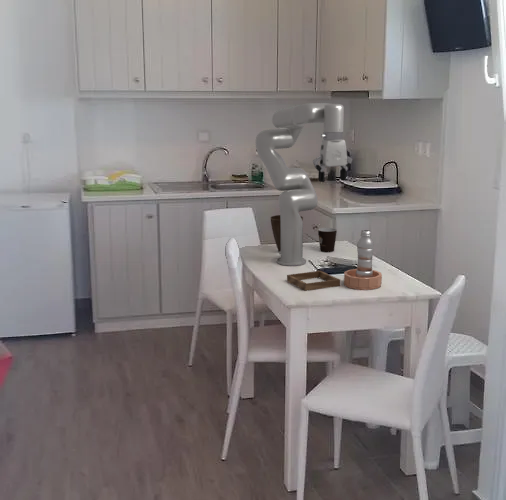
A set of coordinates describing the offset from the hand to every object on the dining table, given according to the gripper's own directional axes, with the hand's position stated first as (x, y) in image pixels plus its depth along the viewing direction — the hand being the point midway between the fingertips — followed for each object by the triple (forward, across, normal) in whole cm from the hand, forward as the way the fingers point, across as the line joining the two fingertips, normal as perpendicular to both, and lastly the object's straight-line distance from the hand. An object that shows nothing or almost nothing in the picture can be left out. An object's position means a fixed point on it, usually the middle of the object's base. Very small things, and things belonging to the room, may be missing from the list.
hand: (332, 180), depth 273 cm
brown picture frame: (+38, -12, -7) cm, 41 cm away
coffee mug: (+38, +22, +40) cm, 60 cm away
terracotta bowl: (+38, +4, -17) cm, 42 cm away
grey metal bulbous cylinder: (+38, +5, -17) cm, 41 cm away
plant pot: (+38, +4, +46) cm, 60 cm away
